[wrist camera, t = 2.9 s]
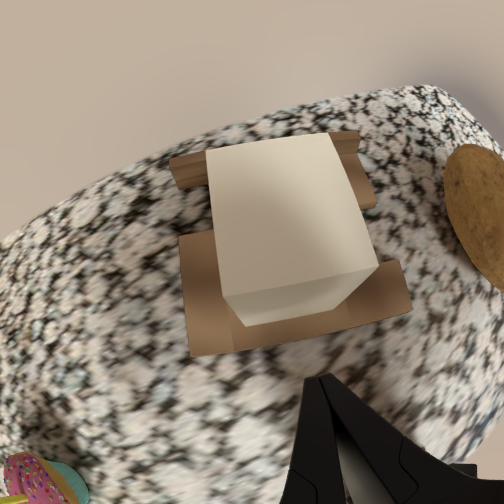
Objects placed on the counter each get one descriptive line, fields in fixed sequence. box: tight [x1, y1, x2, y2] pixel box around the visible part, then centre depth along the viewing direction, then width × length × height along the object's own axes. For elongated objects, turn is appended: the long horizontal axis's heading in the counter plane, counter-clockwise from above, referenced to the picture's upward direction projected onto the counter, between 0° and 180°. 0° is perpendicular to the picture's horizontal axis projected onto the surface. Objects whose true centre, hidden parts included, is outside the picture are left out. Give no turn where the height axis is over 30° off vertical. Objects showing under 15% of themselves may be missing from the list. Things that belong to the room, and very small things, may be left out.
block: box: [206, 133, 379, 327], centre depth 16 cm, size 7×6×9 cm
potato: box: [443, 144, 504, 292], centre depth 17 cm, size 10×14×8 cm
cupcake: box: [0, 452, 89, 504], centre depth 9 cm, size 9×8×12 cm
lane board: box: [169, 130, 413, 357], centre depth 20 cm, size 15×16×3 cm
